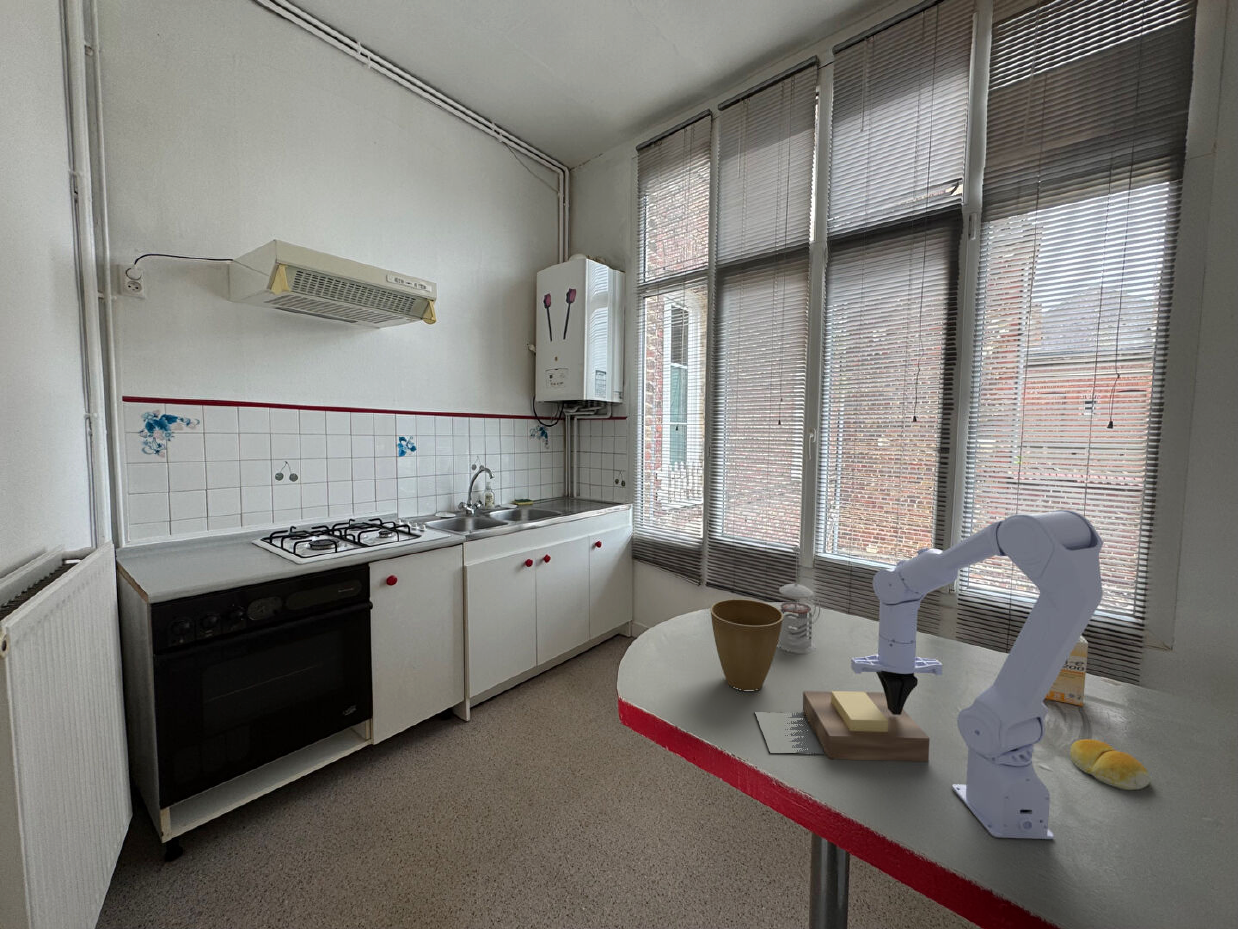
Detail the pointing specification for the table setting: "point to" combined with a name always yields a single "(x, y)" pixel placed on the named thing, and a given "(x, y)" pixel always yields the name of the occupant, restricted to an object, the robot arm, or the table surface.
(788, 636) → the french press
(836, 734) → the board
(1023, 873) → the table surface
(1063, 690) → the supplement box
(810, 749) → the mat
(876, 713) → the pale yellow block
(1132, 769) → the bread roll
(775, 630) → the plant pot
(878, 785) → the table surface
